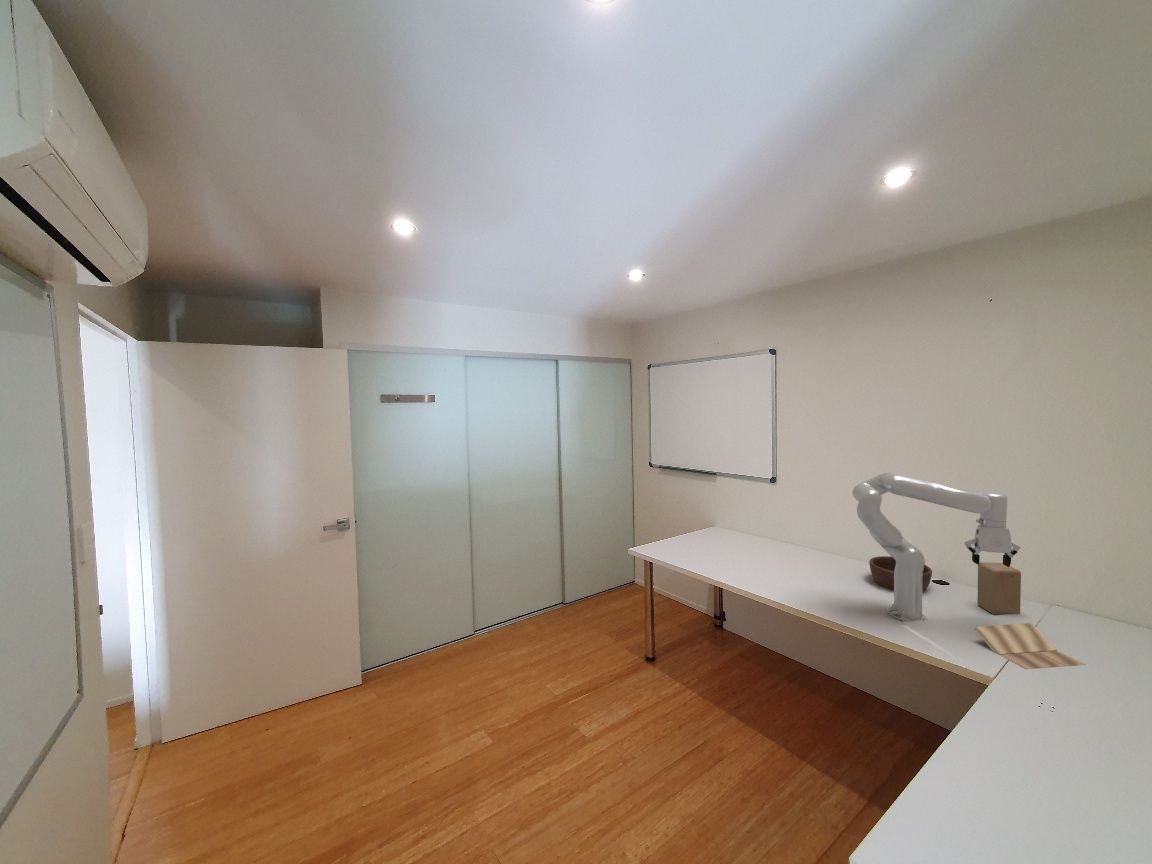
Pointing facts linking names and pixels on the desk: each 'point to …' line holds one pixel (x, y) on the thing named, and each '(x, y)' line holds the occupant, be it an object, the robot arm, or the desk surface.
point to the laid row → (1042, 660)
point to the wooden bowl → (892, 572)
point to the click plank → (1014, 638)
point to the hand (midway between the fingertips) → (991, 564)
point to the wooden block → (999, 588)
